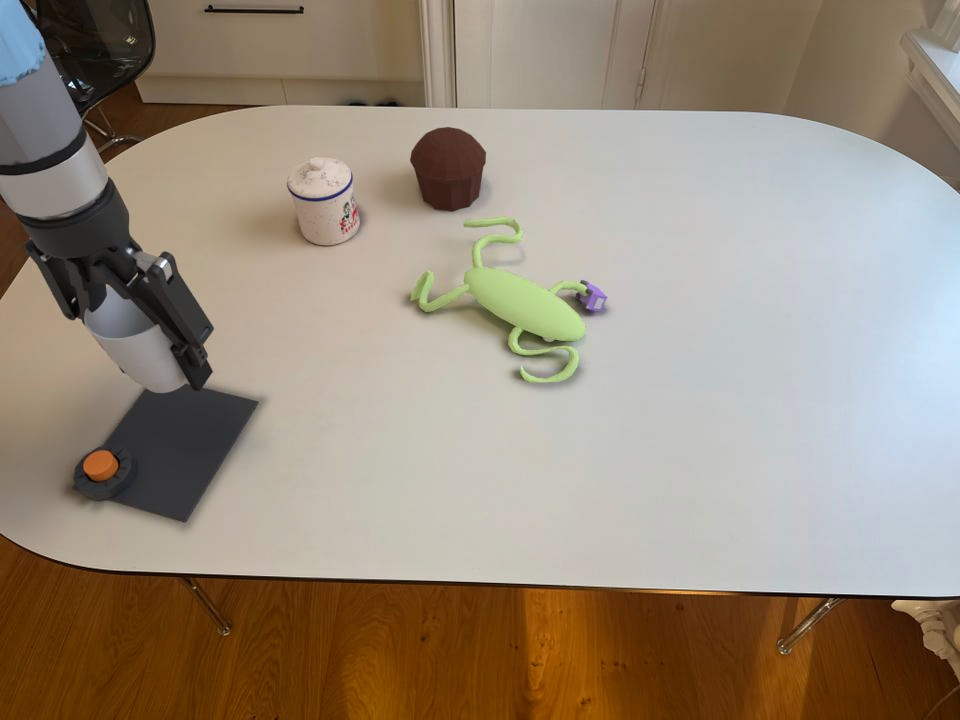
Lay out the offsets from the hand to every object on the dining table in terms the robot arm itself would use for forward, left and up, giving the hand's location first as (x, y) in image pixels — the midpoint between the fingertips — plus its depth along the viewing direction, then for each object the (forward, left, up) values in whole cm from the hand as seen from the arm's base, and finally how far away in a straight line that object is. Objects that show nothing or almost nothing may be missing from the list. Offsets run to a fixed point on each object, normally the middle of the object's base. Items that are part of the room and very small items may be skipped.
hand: (167, 372), depth 73 cm
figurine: (+29, +29, -11) cm, 43 cm away
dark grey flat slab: (-2, -3, -11) cm, 12 cm away
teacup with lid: (-1, +39, -11) cm, 41 cm away
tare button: (-6, -9, -9) cm, 14 cm away
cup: (0, 0, 0) cm, 0 cm away
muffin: (+14, +50, -11) cm, 53 cm away
